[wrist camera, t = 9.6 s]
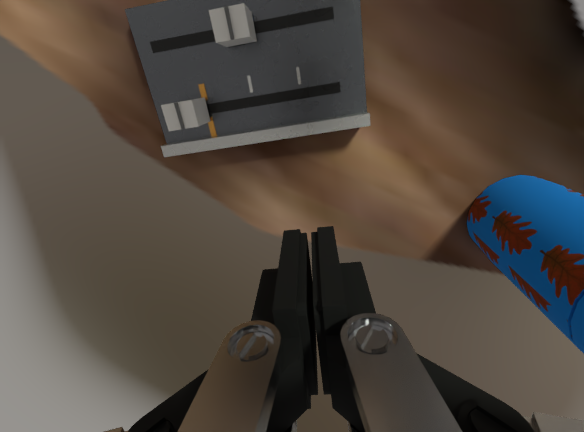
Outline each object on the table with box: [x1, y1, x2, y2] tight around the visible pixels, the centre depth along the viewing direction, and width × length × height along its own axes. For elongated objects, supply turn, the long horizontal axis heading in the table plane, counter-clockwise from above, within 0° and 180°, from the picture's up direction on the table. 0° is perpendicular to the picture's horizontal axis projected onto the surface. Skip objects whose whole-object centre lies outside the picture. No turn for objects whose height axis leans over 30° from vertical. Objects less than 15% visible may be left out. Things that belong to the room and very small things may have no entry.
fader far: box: [161, 97, 210, 131], centre depth 31 cm, size 3×2×4 cm
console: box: [125, 0, 370, 157], centre depth 32 cm, size 22×14×4 cm, turn 99°
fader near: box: [209, 3, 257, 47], centre depth 28 cm, size 3×2×4 cm
